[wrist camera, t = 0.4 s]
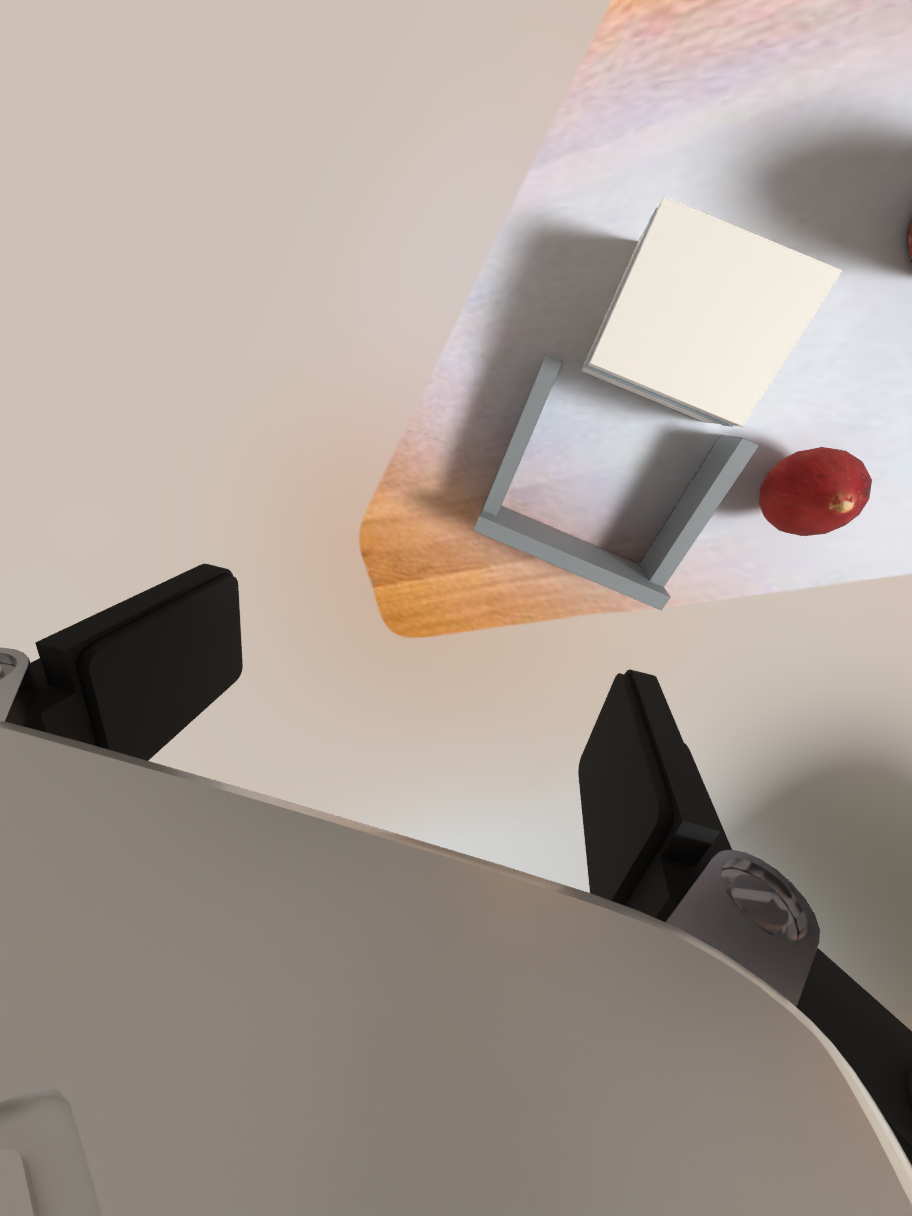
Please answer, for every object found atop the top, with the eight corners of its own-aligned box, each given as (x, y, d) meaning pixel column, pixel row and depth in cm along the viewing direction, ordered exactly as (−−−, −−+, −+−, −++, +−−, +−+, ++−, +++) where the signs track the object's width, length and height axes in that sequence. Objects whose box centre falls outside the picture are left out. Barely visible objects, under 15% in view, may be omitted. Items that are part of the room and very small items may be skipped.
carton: (637, 240, 29) (663, 195, 22) (778, 298, 29) (844, 269, 22) (579, 371, 32) (588, 363, 26) (704, 423, 32) (743, 427, 26)
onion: (834, 435, 31) (921, 444, 24) (824, 514, 33) (901, 544, 26) (743, 452, 32) (799, 465, 25) (739, 526, 35) (790, 558, 28)
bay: (545, 360, 32) (546, 351, 27) (735, 440, 32) (773, 447, 27) (483, 512, 38) (473, 530, 33) (644, 581, 38) (661, 610, 33)
